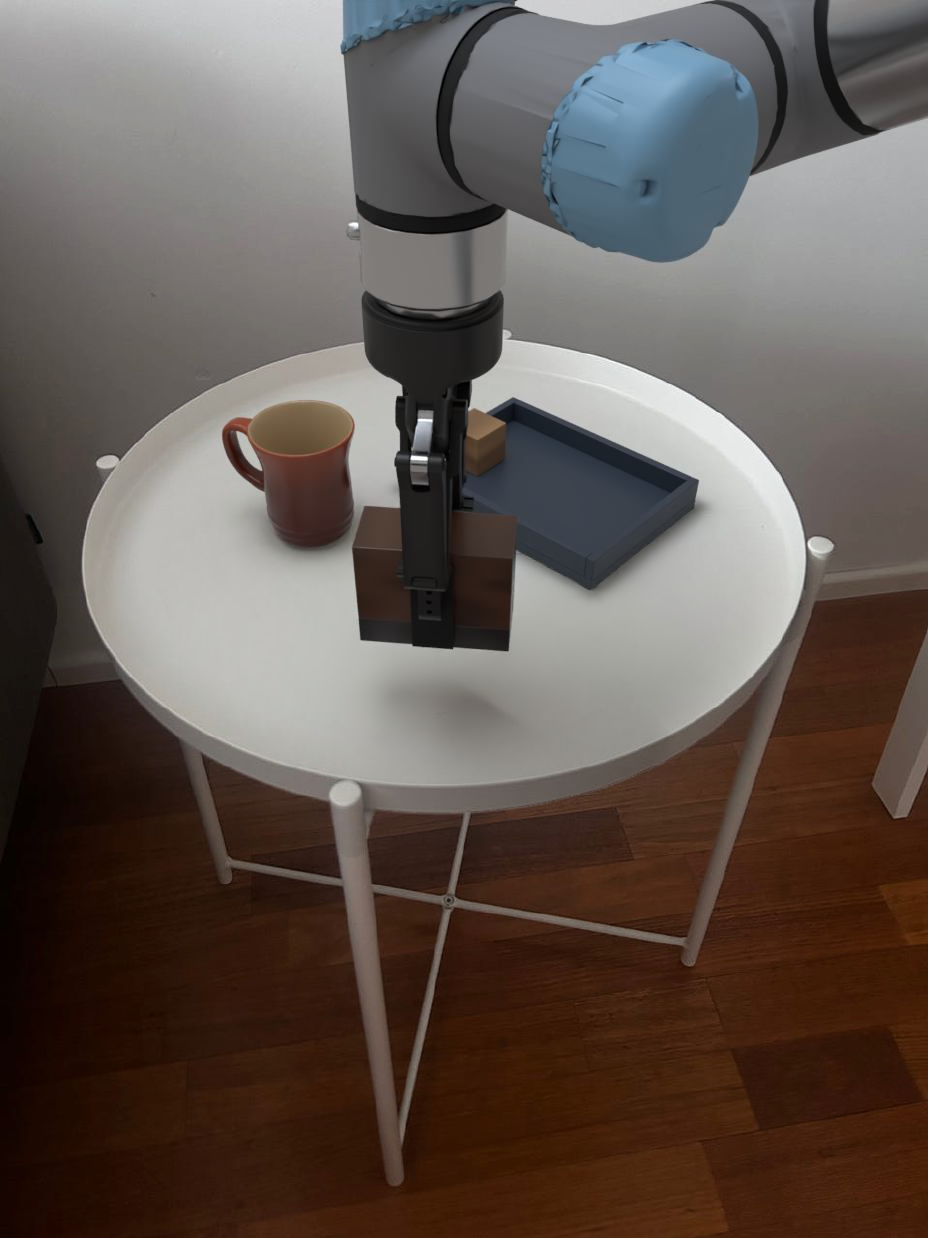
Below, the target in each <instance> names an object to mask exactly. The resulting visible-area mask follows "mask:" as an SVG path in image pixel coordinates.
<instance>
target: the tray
mask: <svg viewBox="0 0 928 1238" xmlns="http://www.w3.org/2000/svg"><path fill="white" fill-rule="evenodd" d="M485 413H486V414H488V415H490V416H492V417H494V418H497V419H499V420H501V421H503V422H505V423H506V443H505V460H503V461H501V462H500V463H498V464H497V465H495V466H494V467H492V468H490V469H489V470H487V471H486V472H484V473H483V474H481V475H479V476H478V477H477V476H475V475H473V474H471V473H469V472H467V471H465V474H466V475H467V483H466V484H465V485H464V488H462V493H463V496H470V497H474V506H473V513H482V514H497V515H512V516H517V517H518V524H517V544H516V551H518V552H520V553H522V554H524V555H525V556H527V557H529V558H531V559H533V560H535V561H537V562H539V563H541V564H542V565H544V566H546V567H547V568H550V569H551V570H554V571H555V572H557V573H559V574H560V575H562V576H564V577H566V578H568V579H570V580H571V581H574V582H575V583H577V584H579V585H581V586H582V587H584V588H587V589H588V590H590V591H592V590H593V589H594V588H596V586H598V585H599V584H600V583H602V582H603V581H604V580H605V579H606V578H608V577H609V576H610V575H612V574H613V573H614V572H615V571H617V570H618V569H619V568H620V567H621V566H623V565H624V564H626V563H627V562H628V561H629V560H630V559H632V558H633V557H634V556H635V555H637V554H638V553H639V552H640V551H642V550H643V549H644V548H645V547H647V545H649V544H651V543H652V542H653V541H654V540H655V539H657V538H658V537H659V536H660V535H661V534H663V533H664V532H665V531H666V530H668V529H669V528H671V526H673V525H675V523H676V522H678V521H679V520H680V519H681V518H683V517H685V515H686V514H688V513H689V512H690V511H692V510H693V509H694V508H695V504H696V499H697V494H698V490H699V483H700V479H698V478H695V477H693V476H691V475H689V474H686V473H684V472H683V471H681V470H678V469H676V468H674V467H671V466H669V465H667V464H664V463H662V462H660V461H658V460H655V459H653V458H651V457H649V456H647V455H644V454H642V453H639V452H637V451H636V450H633V449H631V448H628V447H626V446H624V445H622V444H619V443H618V442H615V441H612V440H610V439H608V438H606V437H604V436H602V435H599V434H597V433H595V432H593V431H591V430H588V429H586V428H584V427H581V426H579V425H577V424H575V423H572V422H571V421H568V420H566V419H563V418H561V417H559V416H557V415H555V414H552V413H550V412H548V411H545V410H543V409H541V408H539V407H537V406H535V405H532V404H530V403H528V402H526V401H523V400H521V399H519V398H516V397H514V396H513V397H511V398H509V399H507V400H505V401H504V402H502V403H500V404H498V405H496V406H495V407H493V408H492V409H490V410H489V411H486V412H485ZM467 513H469V512H467Z"/></svg>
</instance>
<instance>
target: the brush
mask: <svg viewBox="0 0 928 1238" xmlns="http://www.w3.org/2000/svg"><path fill="white" fill-rule="evenodd" d="M517 524H518V517H517V516H512V515H497V514H482V513H467V512H452V522H451V566H454V647H453V649H454V648H455V649H469V650H481V651H482V650H483V651H493V652H505V653H508V652H509V651H510V644H511V635H512V627H513V625H512V624H513V616H514V606H515V605H514V604H515V583H516V564H517V562H516V561H517V550H516V544H517ZM351 553H352V554H351V555H352V562H353V575H354V585H355V596H356V597H355V598H356V607H357V608H356V609H357V617H358V618H357V619H358V630H359V631H358V632H359V640H360V641H363V642H375V643H390V644H391V643H392V644H401V645H412V625H411V601H410V589H405V588H404V582H402V577H397V575H396V570H397V568H398V565H399V562H401V563H403V556H402V536H401V516H400V507H390V506H375V505H374V506H373V505H364V506H363V509H362V512H361V516H360V518H359V523H358V526H357V529H356V532H355V535H354V539H353V542H352V545H351Z"/></svg>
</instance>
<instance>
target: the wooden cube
mask: <svg viewBox="0 0 928 1238" xmlns="http://www.w3.org/2000/svg"><path fill="white" fill-rule="evenodd" d="M486 413H487V412H484V411H482V410H480V409H478V408H475V407H473V408H472V409H470V410H468V420H469V422H468V429H467V436H466V449H465V471H467V472H469V473H471V474H473V475H475V476H477V477H478V476H479V475H481V474H483V473H484V472H486V471H487V470H489V469H490V468H492V467H494V466H495V465H497V464H498V463H500V462H501V461H503V460H505V443H506V423H505V422H503V421H501V420H499V419H497V418H494V417H492V416H490V415H488V414H486Z"/></svg>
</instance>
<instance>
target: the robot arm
mask: <svg viewBox="0 0 928 1238" xmlns="http://www.w3.org/2000/svg"><path fill="white" fill-rule="evenodd" d="M516 2H518V0H342V40H341V43H340V45H339V46H340V54H341V55H343V64H344V65H343V67H344V78H345V79H344V80H345V90H346V102H347V103H346V105H347V115H348V116H347V117H348V127H349V139H350V140H349V141H350V149H351V150H350V152H351V153H350V154H351V166H352V179H353V191H354V197H355V207H356V219H352V220H349V221H348V223H347V225H346V228H345V233H346V237H347V238H349V240H352V241H359V242H360V249H359V251H358V252H359V253H358V257H359V271H360V282H361V285H362V287H363V289H364V292H363V294H362V296H361V299H360V300H361V301H360V302H361V315H362V316H361V317H362V318H361V319H362V333H363V345H364V346H363V347H364V354H365V357H366V360H367V362H368V363H369V364H370V366H371V367H372V368H373V369H374V370H376V371H377V372H378V373H379V374H381V376H384V377H386V378H389V379H392V380H393V381H394V382H396V383H398V384H400V385H401V394H402V395H397V396H396V398H395V406H394V413H395V414H394V423H395V426H396V428H397V430H398V431H399V432H398V433H399V450H397V452H396V453H395V456H394V460H393V467H394V468H395V472H396V473H395V474H396V479H397V486H398V493H399V494H398V495H399V508H400V516H401V536H402V556H403V563H401V562H399V565H398V568H397V570H396V575H397V577H402V582H404V588H405V589H410V601H411V625H412V644H411V645H412V647H417V648H428V649H429V648H430V649H439V650H441V649H443V650H454V566H451V522H452V512H469V513H473V506H474V497H470V496H463V493H462V488H464V485H465V484H466V483H467V475H466V474H465V449H466V436H467V429H468V422H469V420H468V411H469V408H470V407H471V400H472V393H473V380H475V379H478V378H480V377H482V376H484V375H485V374H487V373H489V372H490V371H491V370H492V369H493V368H494V367H495V366H496V365H497V363H498V362H499V361H500V358H501V357H502V352H503V339H504V338H503V337H504V335H503V334H504V307H505V298H504V294H503V292H502V291H501V289H502V288H503V286H504V285H505V283H506V274H507V250H508V249H507V248H508V221H509V219H508V218H509V211H511V212H513V213H516V214H518V215H520V216H523V217H525V218H528V219H530V220H532V221H535V222H537V223H540V224H541V225H544V226H547V227H549V228H551V229H554V230H556V231H558V232H561V233H563V234H565V235H567V236H570V237H572V238H574V240H575V241H577V242H579V243H582V244H584V245H586V246H587V247H590V248H592V249H598V248H600V249H601V250H603V251H604V252H607V253H621V254H623V255H627V256H630V257H634V258H638V259H641V260H644V261H647V262H652V263H659V264H663V263H665V264H666V263H671V262H674V263H675V262H677V261H680V260H684V259H686V258H688V257H690V256H692V255H693V254H694V255H695V253H697V252H698V251H700V250H702V249H703V248H704V247H705V246H706V245H707V243H708V242H709V241H710V238H711V236H712V233H713V231H714V229H715V228H718V227H721V226H723V225H725V224H726V223H727V221H728V220H729V219H730V217H731V216H732V214H733V213H734V211H735V209H736V208H737V206H738V203H740V199H741V197H742V195H743V193H744V191H745V189H746V186H747V184H748V181H749V179H750V177H752V176H755V175H758V174H760V173H763V172H766V171H769V170H771V169H772V170H773V169H774V168H777V167H780V166H782V165H785V164H788V163H791V162H793V161H797V160H799V159H800V160H801V159H803V158H805V157H808V156H812V155H815V154H818V153H822V152H825V151H829V150H832V149H835V148H838V147H841V146H845V145H848V144H852V143H855V142H858V141H861V140H864V139H868V138H871V137H874V136H877V135H879V134H880V133H883V132H887V131H889V130H893V129H896V128H899V127H903V126H907V125H911V124H914V123H916V122H919V121H920V122H921V121H924V120H926V119H928V0H707V1H702V2H699V3H694V4H691V5H687V6H683V7H679V8H675V9H670V10H666V11H662V12H658V13H654V14H653V13H652V14H650V15H646V16H641V17H637V18H633V19H628V20H626V21H622V22H618V23H612V24H589V23H583V22H578V21H572V20H568V19H562V18H556V17H552V16H547V15H542V14H539V13H537V12H534V11H530V10H527V9H525V8H523V7H520V6H518V5H516Z"/></svg>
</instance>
